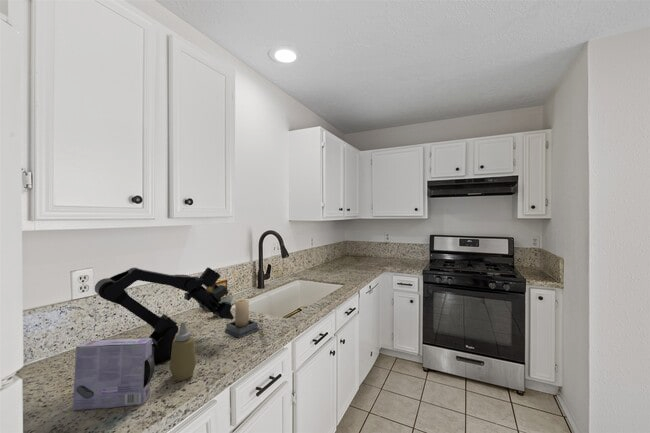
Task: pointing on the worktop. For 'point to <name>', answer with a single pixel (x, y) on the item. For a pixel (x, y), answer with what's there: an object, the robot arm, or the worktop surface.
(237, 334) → the dock
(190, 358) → the squeeze bottle
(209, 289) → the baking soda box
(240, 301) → the beige tapered cylinder
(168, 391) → the worktop surface
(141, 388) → the cake pan box
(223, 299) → the food container
